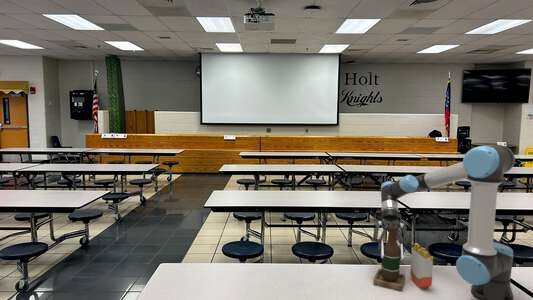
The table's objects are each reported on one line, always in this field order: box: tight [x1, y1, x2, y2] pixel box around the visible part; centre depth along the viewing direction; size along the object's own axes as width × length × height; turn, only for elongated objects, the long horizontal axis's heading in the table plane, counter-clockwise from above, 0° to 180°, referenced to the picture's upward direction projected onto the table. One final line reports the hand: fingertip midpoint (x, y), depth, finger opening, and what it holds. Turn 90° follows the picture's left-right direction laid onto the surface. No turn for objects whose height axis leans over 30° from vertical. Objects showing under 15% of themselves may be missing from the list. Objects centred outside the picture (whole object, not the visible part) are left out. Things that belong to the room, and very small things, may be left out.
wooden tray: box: [372, 268, 406, 293], centre depth 160 cm, size 12×12×2 cm
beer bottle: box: [380, 225, 401, 281], centre depth 158 cm, size 8×8×24 cm
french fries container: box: [409, 242, 434, 289], centre depth 157 cm, size 5×11×18 cm, turn 5°
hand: (392, 258), depth 155 cm, fingers closed on beer bottle, 7 cm apart
